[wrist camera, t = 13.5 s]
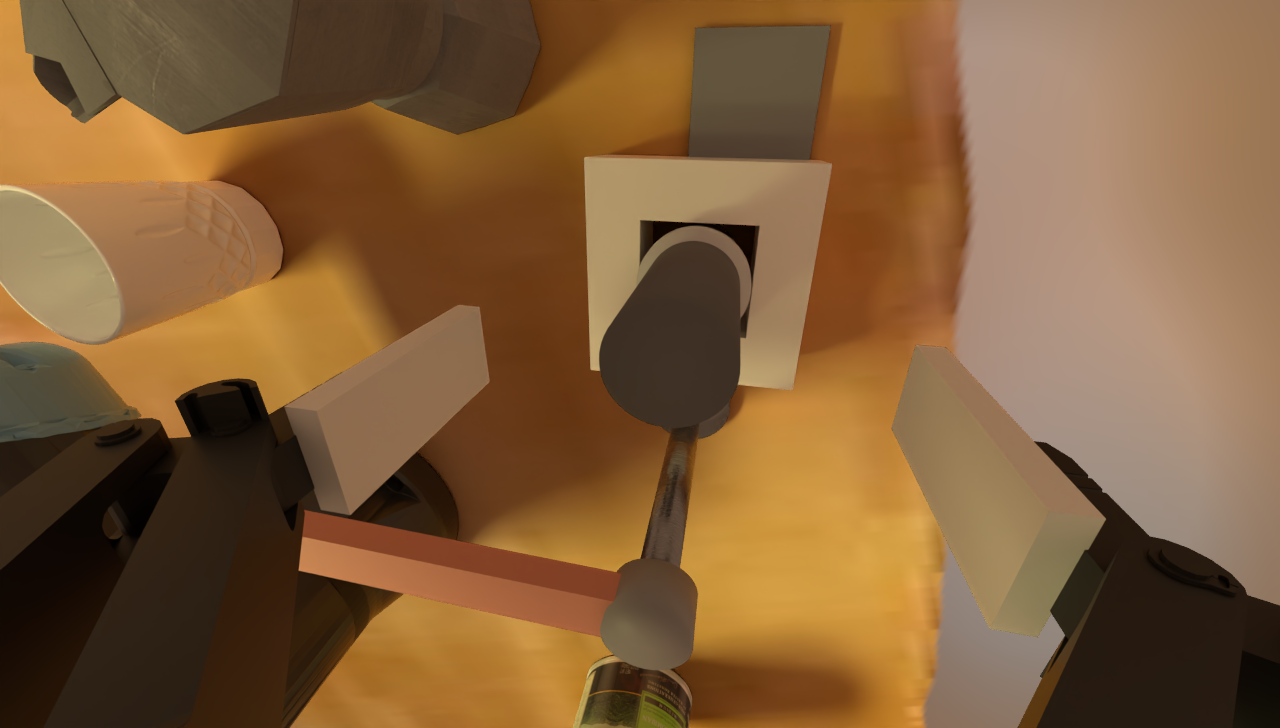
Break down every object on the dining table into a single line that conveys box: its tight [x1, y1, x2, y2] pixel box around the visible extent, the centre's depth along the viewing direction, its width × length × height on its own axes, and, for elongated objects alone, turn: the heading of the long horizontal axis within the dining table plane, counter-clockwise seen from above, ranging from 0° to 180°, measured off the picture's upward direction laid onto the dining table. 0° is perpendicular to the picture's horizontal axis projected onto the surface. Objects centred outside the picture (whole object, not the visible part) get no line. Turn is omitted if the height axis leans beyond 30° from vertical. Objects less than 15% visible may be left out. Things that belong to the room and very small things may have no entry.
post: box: [641, 401, 730, 568], centre depth 25 cm, size 5×5×14 cm
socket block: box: [584, 154, 832, 390], centre depth 25 cm, size 11×11×4 cm
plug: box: [599, 223, 751, 428], centre depth 21 cm, size 5×5×14 cm
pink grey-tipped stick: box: [299, 510, 698, 670], centre depth 18 cm, size 17×3×2 cm, turn 87°
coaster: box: [688, 25, 831, 160], centre depth 23 cm, size 6×6×1 cm
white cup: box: [0, 181, 283, 345], centre depth 28 cm, size 8×8×10 cm
